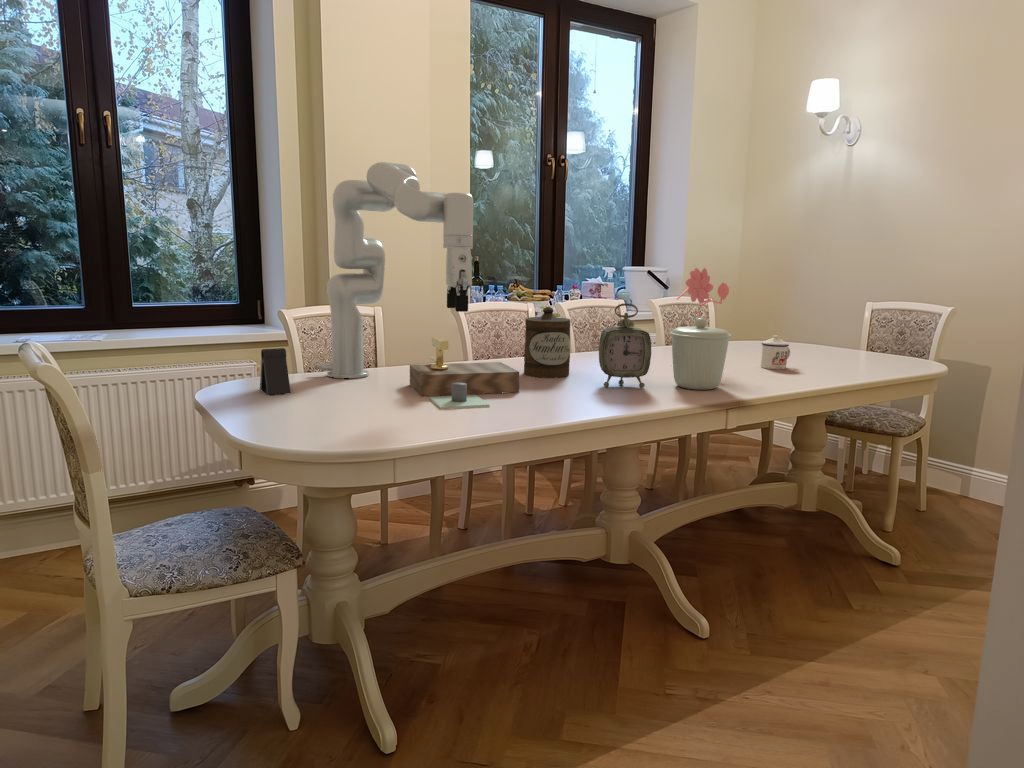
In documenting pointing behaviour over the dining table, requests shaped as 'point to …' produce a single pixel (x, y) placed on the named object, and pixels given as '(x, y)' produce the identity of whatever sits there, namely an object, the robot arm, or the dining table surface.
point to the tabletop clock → (625, 350)
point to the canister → (699, 355)
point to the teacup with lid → (774, 353)
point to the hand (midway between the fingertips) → (457, 309)
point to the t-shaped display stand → (439, 353)
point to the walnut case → (464, 378)
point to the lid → (459, 398)
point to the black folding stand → (274, 372)
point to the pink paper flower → (703, 288)
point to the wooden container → (547, 345)
